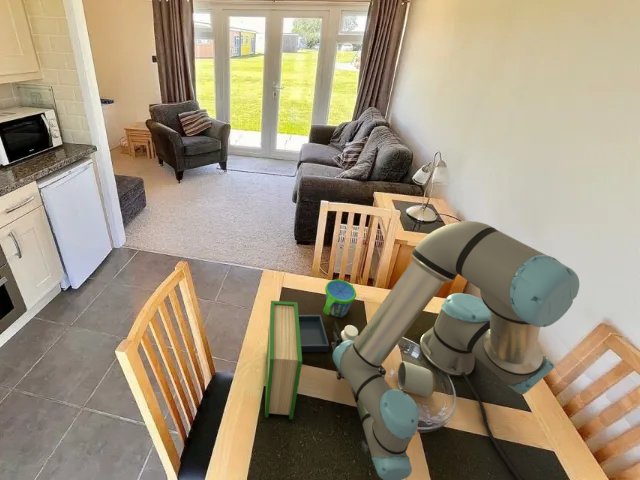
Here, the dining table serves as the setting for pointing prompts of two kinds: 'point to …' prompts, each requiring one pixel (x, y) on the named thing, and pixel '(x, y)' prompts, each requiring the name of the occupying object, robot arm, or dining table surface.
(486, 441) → the dining table surface
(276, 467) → the dining table surface
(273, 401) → the hardback book
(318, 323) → the tote
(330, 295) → the snack cup
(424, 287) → the robot arm
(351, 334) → the supplement bottle
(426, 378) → the ceramic mug
